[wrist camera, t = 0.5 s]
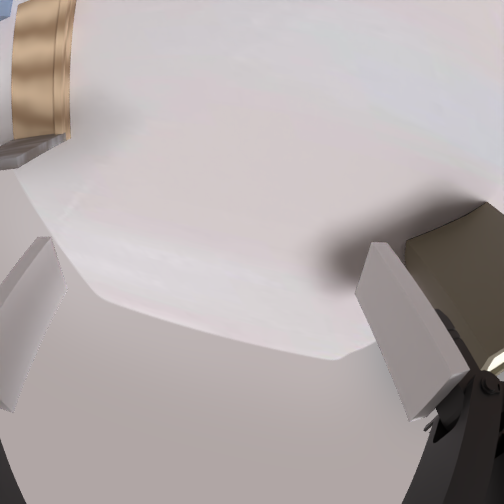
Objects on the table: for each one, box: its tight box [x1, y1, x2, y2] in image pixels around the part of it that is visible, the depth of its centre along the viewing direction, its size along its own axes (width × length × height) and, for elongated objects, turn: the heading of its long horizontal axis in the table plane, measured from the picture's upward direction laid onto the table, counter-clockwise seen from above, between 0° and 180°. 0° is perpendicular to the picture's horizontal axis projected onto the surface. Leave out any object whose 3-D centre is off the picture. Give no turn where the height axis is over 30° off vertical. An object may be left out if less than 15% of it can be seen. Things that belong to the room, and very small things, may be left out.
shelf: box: [0, 0, 76, 170], centre depth 23 cm, size 23×10×14 cm, turn 174°
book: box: [404, 202, 504, 376], centre depth 38 cm, size 22×9×28 cm, turn 114°
